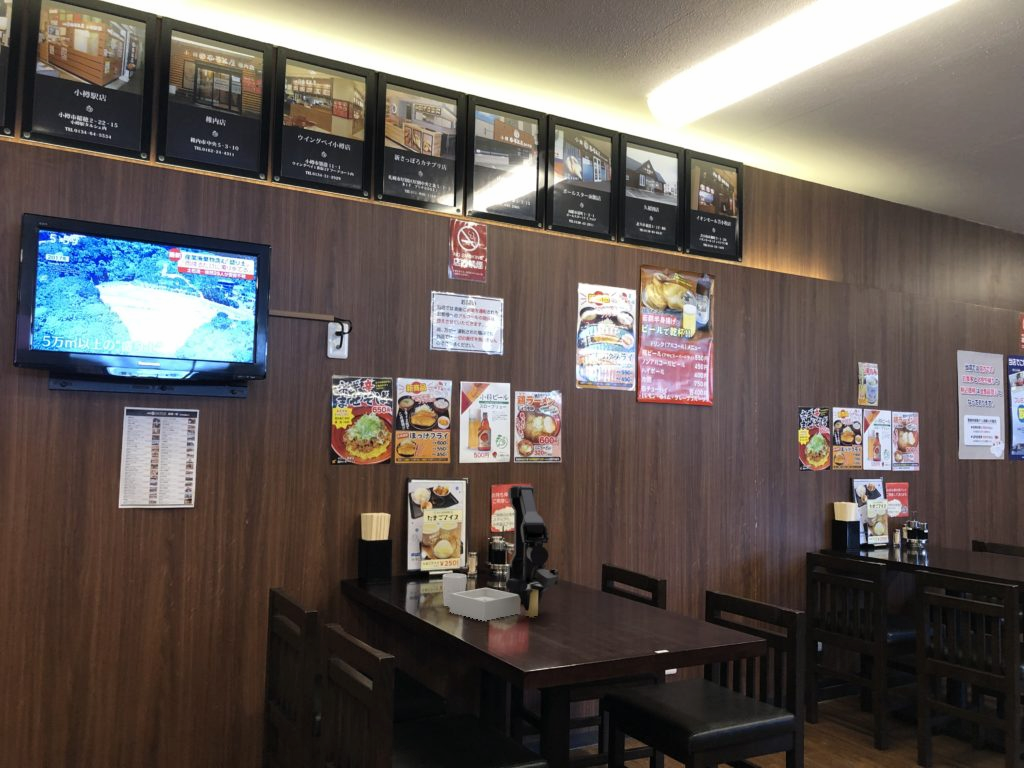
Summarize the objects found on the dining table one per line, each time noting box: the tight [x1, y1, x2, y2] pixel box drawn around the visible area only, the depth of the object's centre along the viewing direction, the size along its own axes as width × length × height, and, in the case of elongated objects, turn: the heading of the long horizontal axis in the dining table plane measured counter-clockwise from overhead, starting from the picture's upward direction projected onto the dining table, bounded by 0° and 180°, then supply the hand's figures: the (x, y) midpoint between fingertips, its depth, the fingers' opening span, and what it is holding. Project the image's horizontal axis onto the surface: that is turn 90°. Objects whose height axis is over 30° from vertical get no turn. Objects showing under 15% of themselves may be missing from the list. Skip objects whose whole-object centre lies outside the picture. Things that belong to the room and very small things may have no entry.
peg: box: [524, 589, 539, 618], centre depth 256 cm, size 4×4×8 cm
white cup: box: [442, 572, 467, 608], centre depth 268 cm, size 8×8×10 cm
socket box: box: [449, 587, 521, 622], centre depth 258 cm, size 16×16×6 cm
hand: (531, 609), depth 256 cm, fingers closed on peg, 4 cm apart
